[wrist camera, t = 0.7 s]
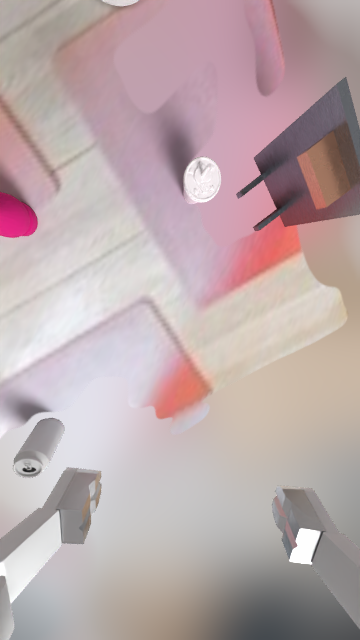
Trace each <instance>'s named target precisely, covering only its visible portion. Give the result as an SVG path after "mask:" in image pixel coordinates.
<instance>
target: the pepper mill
mask: <svg viewBox="0 0 360 640" xmlns="http://www.w3.org/2000/svg"><path fill="white" fill-rule="evenodd" d="M37 224H38V222H37V217H36V215H35V213H34V211H33V210H32V209H31V208H30V207H29V206H28V205H26V204H25V203H23V202H20V201H19V200H18V199H16V198H15V197H13V196H11V195H9V194H6V193H2V192H0V236H4V237H10V238H15V237H19V236H29V235H31V234H33V233H34V232H35V230H36V229H37Z"/></svg>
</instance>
